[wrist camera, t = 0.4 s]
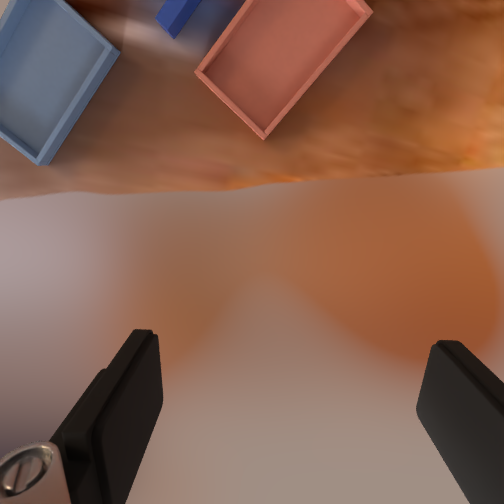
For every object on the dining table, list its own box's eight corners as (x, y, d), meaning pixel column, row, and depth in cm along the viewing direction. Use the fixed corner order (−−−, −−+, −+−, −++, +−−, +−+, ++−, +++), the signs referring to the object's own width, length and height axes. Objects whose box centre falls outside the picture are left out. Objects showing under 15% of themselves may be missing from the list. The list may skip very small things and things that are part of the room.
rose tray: (298, -62, 30) (301, -76, 28) (367, 19, 32) (373, 11, 30) (197, 76, 34) (193, 72, 32) (263, 140, 36) (264, 140, 34)
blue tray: (40, -23, 31) (26, -34, 30) (121, 52, 33) (113, 46, 32) (-28, 105, 35) (-43, 102, 34) (48, 165, 37) (37, 166, 36)
